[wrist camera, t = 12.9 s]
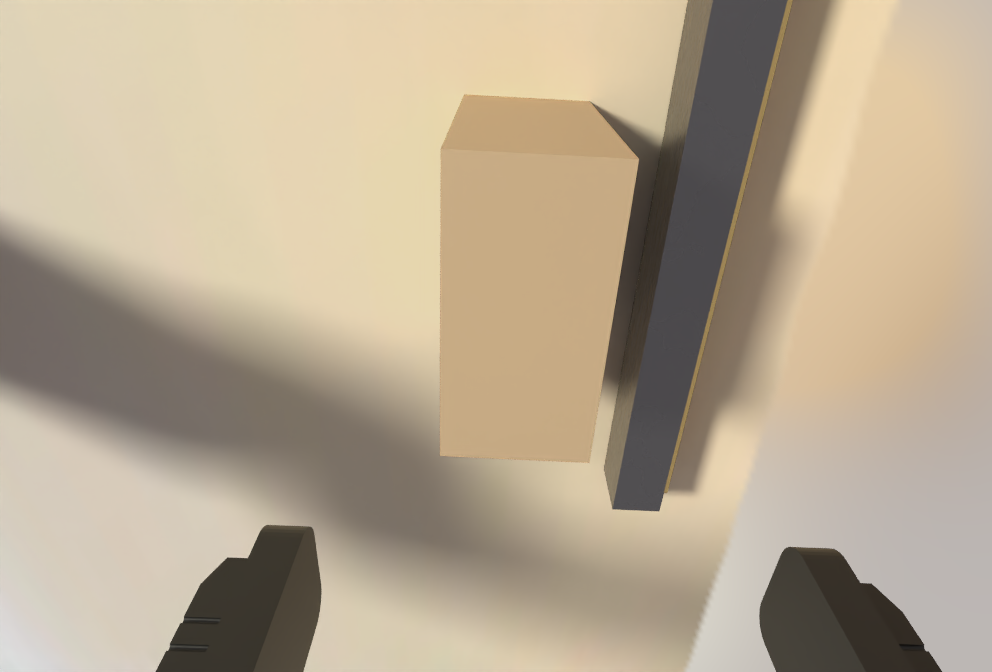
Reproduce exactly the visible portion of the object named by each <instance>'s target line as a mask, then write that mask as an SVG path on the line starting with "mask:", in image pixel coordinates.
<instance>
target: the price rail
mask: <svg viewBox="0 0 992 672" xmlns="http://www.w3.org/2000/svg"><path fill="white" fill-rule="evenodd" d="M792 2H793V0H688V4H687V9H686V15H685V20H684V26H683V32H682V37H681V43H680V48H679V54H678V59H677V65H676V71H675V76H674V82H673V87H672V93H671V98H670V104H669V110H668V115H667V121H666V126H665V132H664V137H663V143H662V149H661V154H660V160H659V165H658V171H657V176H656V182H655V188H654V193H653V199H652V204H651V210H650V215H649V221H648V227H647V232H646V238H645V243H644V249H643V254H642V260H641V266H640V271H639V277H638V282H637V288H636V293H635V299H634V305H633V310H632V316H631V321H630V327H629V332H628V338H627V343H626V349H625V355H624V360H623V366H622V371H621V377H620V382H619V388H618V394H617V399H616V405H615V410H614V416H613V421H612V427H611V433H610V438H609V444H608V449H607V455H606V460H605V466H604V471H605V476H606V481H607V486H608V490H609V495H610V500H611V504H612V509H621V510H643V511H659V510H660V506H661V502H662V498H663V494H664V493H667V492H668V488H669V484H670V480H671V476H672V473H673V469H674V465H675V461H676V457H677V453H678V449H679V445H680V441H681V437H682V433H683V429H684V425H685V422H686V418H687V414H688V410H689V406H690V402H691V398H692V394H693V390H694V386H695V382H696V378H697V375H698V371H699V367H700V363H701V359H702V355H703V351H704V347H705V343H706V339H707V335H708V331H709V328H710V324H711V320H712V316H713V312H714V308H715V304H716V300H717V296H718V292H719V288H720V284H721V280H722V277H723V273H724V269H725V265H726V261H727V257H728V253H729V249H730V245H731V241H732V237H733V233H734V230H735V226H736V222H737V218H738V214H739V210H740V206H741V202H742V198H743V194H744V190H745V186H746V182H747V179H748V175H749V171H750V167H751V163H752V159H753V155H754V151H755V147H756V143H757V139H758V135H759V132H760V128H761V124H762V120H763V116H764V112H765V108H766V104H767V100H768V96H769V92H770V88H771V84H772V81H773V77H774V73H775V69H776V65H777V61H778V57H779V53H780V49H781V45H782V41H783V37H784V34H785V30H786V26H787V22H788V18H789V14H790V10H791V6H792Z"/></svg>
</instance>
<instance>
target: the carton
mask: <svg viewBox="0 0 992 672" xmlns="http://www.w3.org/2000/svg"><path fill="white" fill-rule="evenodd" d="M638 163H639V159H638V157H637V156H636V155H635V154H634V153H633V152H632V150H631V149H630V148H629V147H628V146H627V144H626V143H625V142H624V141H623V140H622V139H621V137H620V136H619V135H618V134H617V133H616V132H615V130H614V129H613V128H612V127H611V126H610V125H609V123H608V122H607V121H606V120H605V119H604V118H603V116H602V115H601V114H600V113H599V112H598V111H597V109H596V108H595V107H594V106H593V105H592V104H591V102H590V101H572V100H554V99H535V98H517V97H499V96H480V95H464V96H463V99H462V101H461V103H460V106H459V108H458V110H457V112H456V115H455V117H454V119H453V122H452V124H451V126H450V129H449V131H448V133H447V136H446V138H445V140H444V143H443V145H442V147H441V248H440V456H452V457H474V458H496V459H518V460H539V461H561V462H583V463H589V461H590V455H591V449H592V443H593V436H594V430H595V424H596V418H597V412H598V406H599V400H600V394H601V388H602V382H603V376H604V370H605V364H606V358H607V352H608V345H609V339H610V333H611V327H612V321H613V315H614V309H615V303H616V297H617V291H618V285H619V279H620V273H621V267H622V261H623V254H624V248H625V242H626V236H627V230H628V224H629V218H630V212H631V206H632V200H633V194H634V188H635V182H636V176H637V169H638Z"/></svg>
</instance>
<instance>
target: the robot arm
mask: <svg viewBox="0 0 992 672" xmlns="http://www.w3.org/2000/svg"><path fill="white" fill-rule="evenodd" d="M320 604H321V580H320V573H319V566H318V558H317V551H316V544H315V536H314V531H313V529H312V527H305V526H279V525H266V526H264V527H263V528H262V530H261V531H260V533H259V535H258V537H257V540H256V542H255V544H254V546H253V549H252V551H251V553H250V555H249V557H248V558H227V559H226V560H225V561H224V562H223V563H222V564H221V565H220V566H219V567H218V568H217V569H215V570H214V571H213V572H212V573H211V574H210V575H209V576H208V577H207V578H206V579H205V580H204V581H203V582H202V583H201V584H200V586H199V588H198V590H197V592H196V594H195V596H194V598H193V600H192V602H191V604H190V606H189V608H188V610H187V612H186V614H185V616H184V621H183V623H180V625H179V627H178V629H177V631H176V633H175V635H174V637H173V639H172V641H171V643H170V649H169V651H166V653H165V655H164V657H163V659H162V660H161V662H160V664H159V666H158V668H157V670H156V672H303V670H304V667H305V664H306V660H307V657H308V653H309V650H310V646H311V643H312V640H313V636H314V633H315V629H316V626H317V622H318V617H319V612H320ZM760 628H761V633H762V637H763V640H764V643H765V646H766V648H767V650H768V652H769V655H770V658H771V660H772V662H773V665H774V667H775V669H776V672H942V671H941V669H940V668H939V666H938V665H937V663H936V662H935V660H934V659H933V657H932V656H931V654H930V653H929V652H926V651H925V649H924V644H923V642H922V641H921V639H920V638H919V636H918V635H917V633H916V632H915V630H914V629H913V627H912V626H911V624H910V623H909V621H908V620H907V618H906V617H905V615H904V614H903V612H902V611H901V610H900V609H898V608H897V607H896V606H895V605H894V604H893V603H892V602H891V601H890V600H889V599H888V598H886V597H885V596H884V595H883V594H882V593H881V592H880V591H879V590H878V589H877V588H876V587H874V586H873V585H872V584H865V583H860V582H859V580H858V579H857V577H856V575H855V574H854V572H853V571H852V569H851V567H850V566H849V564H848V563H847V561H846V560H845V558H844V557H843V556H842V555H841V553H839V552H838V551H837V550H835V549H827V548H801V547H800V548H799V547H788V548H786V549H784V551H783V552H782V554H781V556H780V559H779V561H778V564H777V566H776V569H775V571H774V573H773V576H772V578H771V580H770V583H769V585H768V588H767V590H766V592H765V595H764V597H763V600H762V602H761V606H760Z"/></svg>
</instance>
